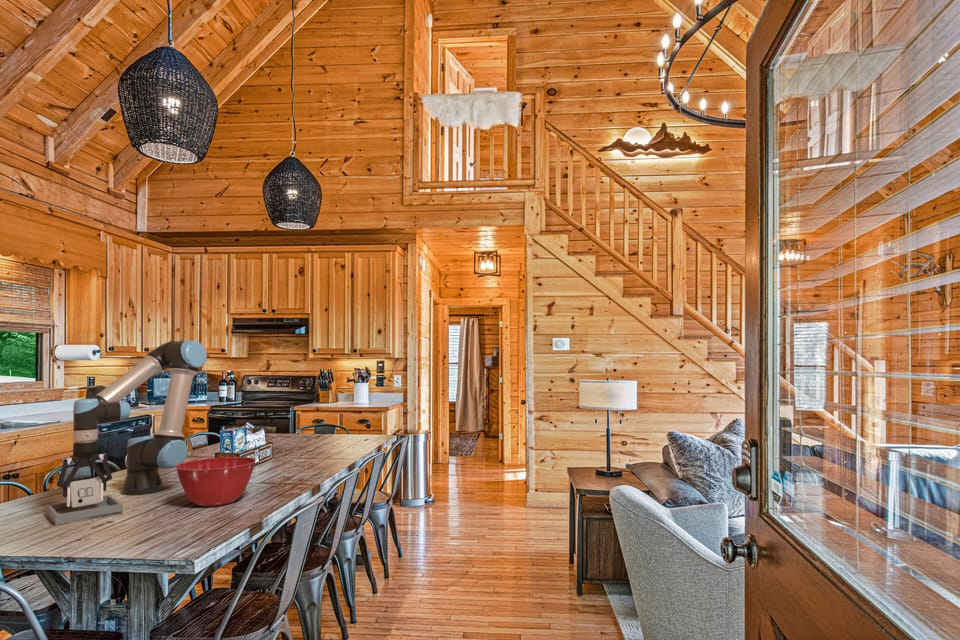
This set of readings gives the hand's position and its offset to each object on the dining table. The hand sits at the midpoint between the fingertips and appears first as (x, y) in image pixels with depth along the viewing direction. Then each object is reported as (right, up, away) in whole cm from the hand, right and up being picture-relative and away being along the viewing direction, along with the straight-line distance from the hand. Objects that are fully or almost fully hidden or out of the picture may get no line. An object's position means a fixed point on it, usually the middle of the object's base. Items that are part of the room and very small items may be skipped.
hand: (84, 503), depth 214 cm
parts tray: (0, -4, 0) cm, 4 cm away
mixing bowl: (+42, -4, +13) cm, 44 cm away
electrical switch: (0, -1, 0) cm, 1 cm away
